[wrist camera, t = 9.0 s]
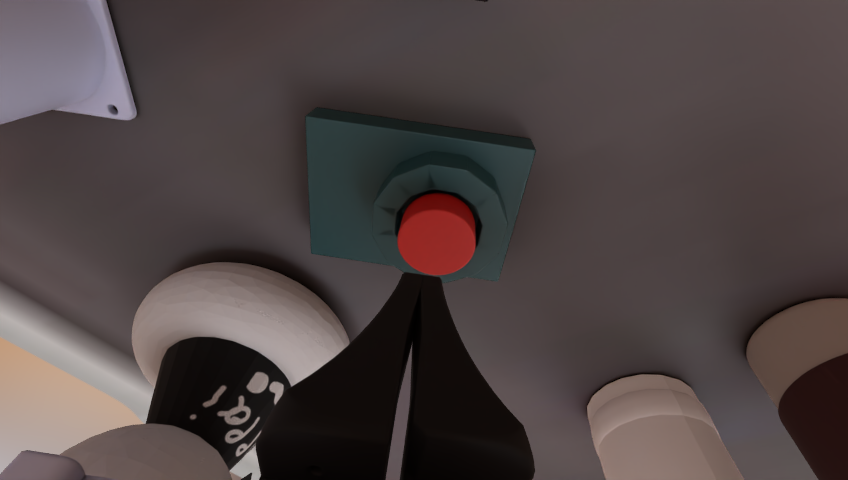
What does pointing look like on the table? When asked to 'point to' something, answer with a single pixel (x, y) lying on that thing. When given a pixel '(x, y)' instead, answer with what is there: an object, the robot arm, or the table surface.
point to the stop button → (437, 234)
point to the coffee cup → (808, 379)
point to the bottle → (656, 432)
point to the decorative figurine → (213, 370)
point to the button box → (409, 185)
